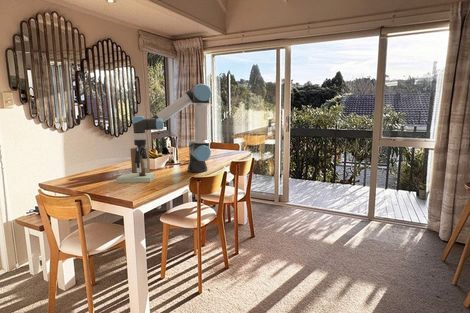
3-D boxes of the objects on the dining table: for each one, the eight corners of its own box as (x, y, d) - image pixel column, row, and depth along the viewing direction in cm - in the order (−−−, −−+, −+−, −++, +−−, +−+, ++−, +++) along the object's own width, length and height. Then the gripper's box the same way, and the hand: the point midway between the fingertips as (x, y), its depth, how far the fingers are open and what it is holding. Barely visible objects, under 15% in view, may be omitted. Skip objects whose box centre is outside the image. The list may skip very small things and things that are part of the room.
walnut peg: (146, 178, 207) (145, 159, 205) (144, 180, 203) (143, 160, 200) (140, 179, 207) (139, 159, 204) (138, 180, 203) (137, 160, 200)
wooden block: (144, 175, 217) (142, 148, 213) (131, 175, 219) (129, 148, 215) (150, 172, 226) (149, 146, 223) (138, 171, 228) (136, 146, 225)
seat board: (155, 177, 212) (155, 172, 211) (150, 182, 198) (149, 177, 198) (124, 177, 212) (123, 173, 211) (116, 182, 198) (116, 178, 197)
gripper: (139, 137, 212) (141, 166, 216) (128, 141, 188) (130, 174, 191) (150, 137, 212) (152, 166, 216) (140, 141, 188) (142, 174, 192)
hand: (142, 170), depth 204 cm, fingers open, 13 cm apart
